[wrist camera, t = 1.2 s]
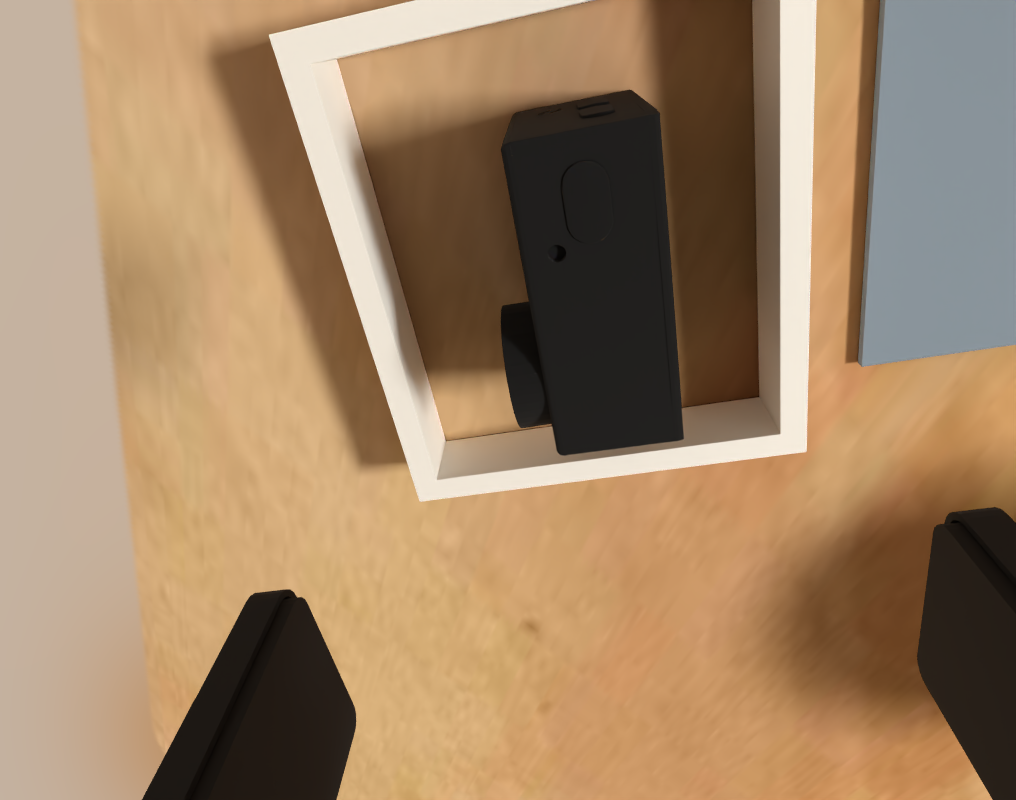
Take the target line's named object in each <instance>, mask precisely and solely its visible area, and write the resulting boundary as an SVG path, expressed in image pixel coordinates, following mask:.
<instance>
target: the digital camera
mask: <svg viewBox="0 0 1016 800" xmlns="http://www.w3.org/2000/svg"><path fill="white" fill-rule="evenodd" d="M560 108H561V109H562V110H561V109H560ZM557 109H558V110H559V111H557ZM549 110H551V111H549ZM546 111H548V112H546ZM554 111H556V112H554ZM543 112H544V113H543ZM551 112H553V113H551ZM540 113H541V114H543V115H541V114H540ZM545 113H546V114H545ZM548 113H549V114H548ZM538 115H539V116H538ZM501 152H502V158H503V163H504V169H505V174H506V179H507V185H508V190H509V196H510V201H511V206H512V212H513V217H514V223H515V228H516V233H517V239H518V244H519V250H520V255H521V260H522V266H523V271H524V277H525V282H526V287H527V293H528V298H529V302H524V303H517V304H511V305H504V306H503V307H502V309H501V336H502V346H503V356H504V363H505V370H506V377H507V382H508V387H509V393H510V398H511V402H512V406H513V410H514V414H515V417H516V420H517V423H518V425H519V426H520V428H526V427H533V426H539V425H546V424H552V428H553V433H554V439H555V444H556V450H557V452H558V453H559V454H560V455H562V456H566V455H573V454H580V453H588V452H596V451H603V450H611V449H619V448H626V447H634V446H642V445H650V444H657V443H665V442H674V441H680V440H683V439H684V432H683V419H682V405H681V391H680V377H679V364H678V351H677V337H676V324H675V310H674V297H673V284H672V270H671V257H670V244H669V230H668V217H667V204H666V191H665V178H664V165H663V152H662V139H661V126H660V113H659V112H658V111H657V109H656V108H654V107H653V106H652V105H650V104H649V103H648V102H646V101H645V100H644V99H642V98H641V97H640V96H638V95H637V94H636V93H635V92H633V91H632V90H627V91H622V92H617V93H612V94H607V95H602V96H597V97H592V98H587V99H582V100H577V101H572V102H567V103H562V104H557V105H552V106H547V107H542V108H537V109H532V110H527V111H522V112H518V113H515V114H514V115H513V117H512V119H511V122H510V124H509V127H508V130H507V133H506V135H505V138H504V141H503V144H502V148H501Z"/></svg>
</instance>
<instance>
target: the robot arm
mask: <svg viewBox="0 0 1016 800" xmlns="http://www.w3.org/2000/svg"><path fill="white" fill-rule="evenodd" d="M917 660H918V666H919V670H920V673H921V676H922V679H923V681H924V683H925V685H926V686H927V688H928V690H929V691H930V693H931V695H932V697H933V698H934V700H935V702H936V703H937V705H938V707H939V709H940V710H941V712H942V714H943V715H944V717H945V719H946V721H947V722H948V724H949V726H950V727H951V729H952V731H953V732H954V734H955V736H956V738H957V739H958V741H959V743H960V744H961V746H962V748H963V750H964V751H965V753H966V755H967V756H968V758H969V760H970V762H971V763H972V765H973V767H974V768H975V770H976V772H977V774H978V775H979V777H980V779H981V780H982V782H983V784H984V786H985V787H986V789H987V791H988V792H989V794H990V796H991V798H992V799H993V800H1016V523H1015V522H1014V521H1013V520H1012V519H1011V518H1010V517H1009V516H1008V514H1006V513H1005V512H1004V511H1003V510H1001V509H999V508H996V507H994V508H985V509H976V510H968V511H959V512H952V513H949V514H948V516H947V517H946V520H945V524H940V525H937V526H936V527H935V528H934V532H933V539H932V546H931V554H930V562H929V569H928V577H927V585H926V592H925V600H924V608H923V615H922V623H921V631H920V638H919V646H918V654H917ZM355 728H356V712H355V707H354V705H353V702H352V700H351V698H350V696H349V694H348V691H347V689H346V687H345V685H344V683H343V680H342V678H341V676H340V674H339V672H338V669H337V667H336V665H335V663H334V661H333V659H332V656H331V654H330V652H329V650H328V648H327V645H326V643H325V641H324V639H323V637H322V634H321V632H320V630H319V628H318V626H317V623H316V621H315V619H314V617H313V615H312V612H311V610H310V608H309V606H308V604H307V602H306V600H305V599H304V598H302V597H299V598H297V597H296V595H295V593H294V592H293V591H291V590H278V591H269V592H261V593H254V594H253V595H251V596H250V597H249V599H248V600H247V602H246V604H245V605H244V607H243V609H242V611H241V613H240V615H239V617H238V619H237V621H236V623H235V625H234V626H233V628H232V630H231V632H230V634H229V636H228V638H227V640H226V642H225V644H224V645H223V647H222V649H221V651H220V653H219V655H218V657H217V659H216V661H215V663H214V665H213V666H212V668H211V670H210V672H209V674H208V676H207V678H206V680H205V682H204V684H203V686H202V687H201V689H200V691H199V693H198V695H197V697H196V699H195V700H194V702H193V704H192V705H191V707H190V709H189V711H188V713H187V715H186V717H185V719H184V721H183V723H182V724H181V726H180V728H179V730H178V732H177V734H176V736H175V738H174V740H173V742H172V744H171V745H170V747H169V749H168V751H167V753H166V755H165V757H164V759H163V761H162V763H161V765H160V766H159V768H158V770H157V772H156V774H155V776H154V778H153V780H152V782H151V784H150V785H149V787H148V789H147V791H146V793H145V795H144V797H143V799H142V800H336V799H337V795H338V792H339V788H340V784H341V781H342V777H343V773H344V770H345V766H346V762H347V759H348V755H349V751H350V748H351V744H352V740H353V737H354V733H355Z"/></svg>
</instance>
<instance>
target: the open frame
mask: <svg viewBox="0 0 1016 800" xmlns="http://www.w3.org/2000/svg"><path fill="white" fill-rule="evenodd" d="M591 1H595V0H414V1H410V2H406V3H402V4H397V5H393V6H389V7H385V8H380V9H376V10H372V11H368V12H363V13H359V14H355V15H351V16H346V17H342V18H338V19H334V20H329V21H325V22H321V23H317V24H312V25H308V26H304V27H300V28H295V29H291V30H287V31H283V32H278V33H274V34H270V35H269V38H270V41H271V44H272V47H273V50H274V53H275V56H276V59H277V62H278V65H279V69H280V72H281V75H282V78H283V81H284V84H285V87H286V90H287V93H288V96H289V99H290V102H291V106H292V109H293V112H294V115H295V118H296V121H297V124H298V127H299V130H300V133H301V136H302V140H303V143H304V146H305V149H306V152H307V155H308V158H309V161H310V164H311V167H312V170H313V173H314V177H315V180H316V183H317V186H318V189H319V192H320V195H321V198H322V201H323V204H324V207H325V210H326V214H327V217H328V220H329V223H330V226H331V229H332V232H333V235H334V238H335V241H336V244H337V247H338V251H339V254H340V257H341V260H342V263H343V266H344V269H345V272H346V275H347V278H348V281H349V284H350V288H351V291H352V294H353V297H354V300H355V303H356V306H357V309H358V312H359V315H360V318H361V322H362V325H363V328H364V331H365V334H366V337H367V340H368V343H369V346H370V349H371V352H372V355H373V359H374V362H375V365H376V368H377V371H378V374H379V377H380V380H381V383H382V386H383V389H384V392H385V396H386V399H387V402H388V405H389V408H390V411H391V414H392V417H393V420H394V423H395V426H396V429H397V433H398V436H399V439H400V442H401V445H402V448H403V451H404V454H405V457H406V460H407V463H408V466H409V470H410V473H411V476H412V479H413V482H414V485H415V488H416V491H417V494H418V497H419V500H420V502H421V501H429V500H437V499H444V498H452V497H460V496H468V495H475V494H483V493H491V492H499V491H506V490H514V489H522V488H530V487H537V486H545V485H553V484H561V483H568V482H576V481H584V480H592V479H599V478H607V477H615V476H623V475H630V474H638V473H646V472H654V471H661V470H669V469H677V468H684V467H692V466H700V465H708V464H715V463H723V462H731V461H739V460H746V459H754V458H762V457H770V456H777V455H785V454H793V453H801V452H807V407H808V362H809V316H810V270H811V224H812V178H813V132H814V86H815V40H816V0H752V14H753V70H754V125H755V181H756V237H757V293H758V349H759V397H756V398H749V399H742V400H735V401H728V402H721V403H714V404H707V405H700V406H692V407H685V408H682V419H683V432H684V439H683V440H680V441H674V442H665V443H657V444H650V445H642V446H634V447H626V448H619V449H611V450H603V451H596V452H588V453H580V454H573V455H566V456H562V455H560V454H559V453H558V452H557V450H556V444H555V439H554V433H553V428H552V426H551V427H544V428H537V429H529V430H522V431H515V432H508V433H501V434H494V435H487V436H480V437H473V438H466V439H459V440H451V441H446V440H445V437H444V433H443V430H442V426H441V423H440V419H439V416H438V412H437V409H436V405H435V402H434V398H433V395H432V391H431V387H430V384H429V380H428V377H427V373H426V370H425V366H424V363H423V359H422V356H421V352H420V349H419V345H418V342H417V338H416V335H415V331H414V328H413V324H412V321H411V317H410V314H409V310H408V307H407V303H406V300H405V296H404V293H403V289H402V286H401V282H400V279H399V275H398V272H397V268H396V265H395V261H394V258H393V254H392V251H391V247H390V244H389V240H388V237H387V233H386V230H385V226H384V223H383V219H382V216H381V212H380V209H379V205H378V202H377V198H376V195H375V191H374V188H373V184H372V181H371V177H370V174H369V170H368V167H367V163H366V160H365V156H364V153H363V149H362V146H361V142H360V139H359V135H358V132H357V128H356V125H355V121H354V118H353V114H352V111H351V107H350V104H349V100H348V97H347V93H346V90H345V86H344V83H343V79H342V76H341V72H340V69H339V65H338V62H337V59H339V58H344V57H348V56H353V55H357V54H362V53H366V52H370V51H375V50H379V49H384V48H388V47H392V46H397V45H401V44H406V43H410V42H414V41H419V40H423V39H428V38H432V37H437V36H441V35H445V34H450V33H454V32H459V31H463V30H467V29H472V28H476V27H481V26H485V25H490V24H494V23H498V22H503V21H507V20H512V19H516V18H520V17H525V16H529V15H534V14H538V13H542V12H547V11H551V10H556V9H560V8H565V7H569V6H573V5H578V4H582V3H587V2H591Z"/></svg>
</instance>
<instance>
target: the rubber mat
mask: <svg viewBox="0 0 1016 800" xmlns="http://www.w3.org/2000/svg"><path fill="white" fill-rule="evenodd" d="M1009 345H1016V0H880V10H879V27H878V43H877V59H876V76H875V92H874V108H873V125H872V141H871V157H870V174H869V190H868V206H867V223H866V239H865V255H864V272H863V288H862V304H861V321H860V337H859V353H858V363H859V364H860V365H861V366H862V367H864V366H870V365H877V364H884V363H891V362H898V361H905V360H912V359H919V358H926V357H933V356H940V355H947V354H954V353H961V352H968V351H975V350H981V349H988V348H995V347H1002V346H1009Z"/></svg>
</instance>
